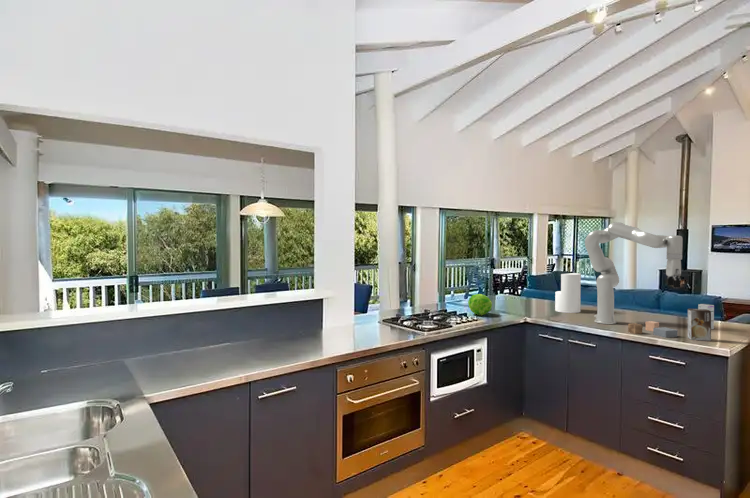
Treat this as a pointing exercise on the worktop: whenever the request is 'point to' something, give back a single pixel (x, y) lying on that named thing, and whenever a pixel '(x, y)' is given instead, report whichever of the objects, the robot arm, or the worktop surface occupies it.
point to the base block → (665, 332)
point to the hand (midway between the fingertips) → (673, 286)
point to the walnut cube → (635, 328)
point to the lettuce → (479, 304)
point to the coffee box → (699, 324)
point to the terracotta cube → (651, 325)
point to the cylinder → (569, 294)
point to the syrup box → (711, 308)
